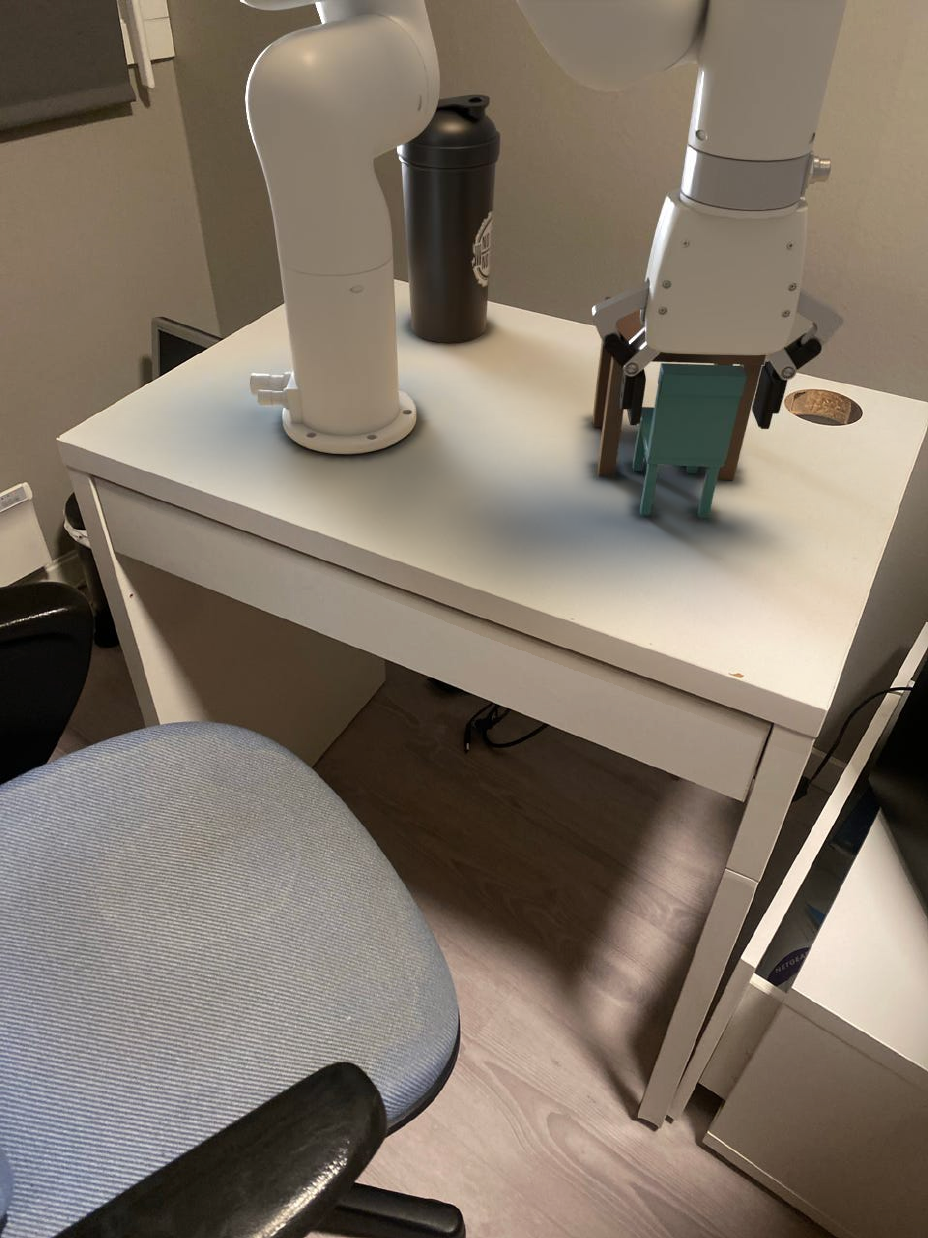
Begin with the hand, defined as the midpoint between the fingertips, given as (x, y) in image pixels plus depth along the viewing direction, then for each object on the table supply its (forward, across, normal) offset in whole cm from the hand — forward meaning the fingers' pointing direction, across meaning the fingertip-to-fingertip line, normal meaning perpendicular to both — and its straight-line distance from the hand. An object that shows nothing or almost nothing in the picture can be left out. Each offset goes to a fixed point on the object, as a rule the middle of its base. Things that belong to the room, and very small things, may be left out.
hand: (696, 418), depth 68 cm
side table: (+9, 0, -11) cm, 14 cm away
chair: (+9, 0, -4) cm, 10 cm away
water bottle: (+9, +21, -36) cm, 42 cm away
